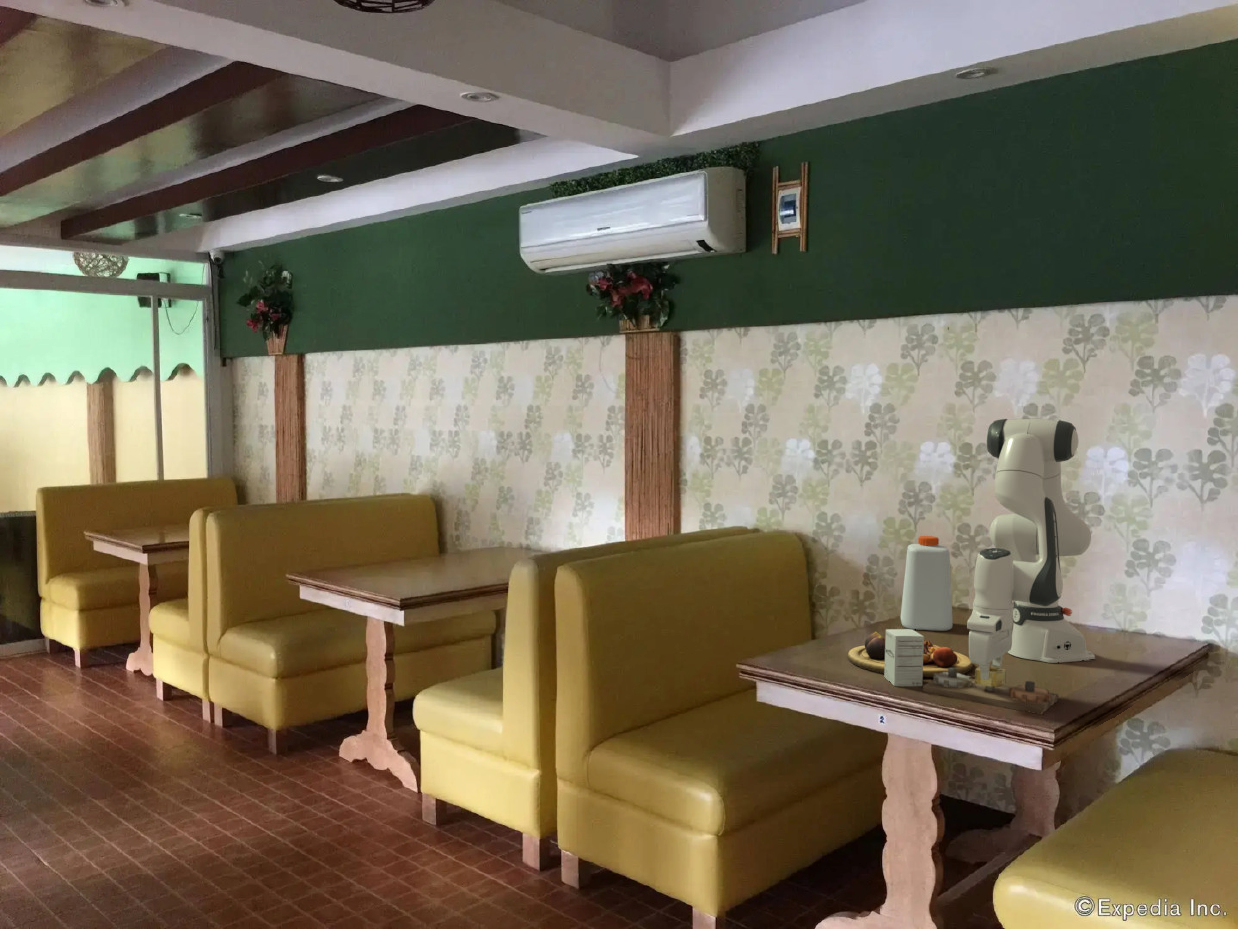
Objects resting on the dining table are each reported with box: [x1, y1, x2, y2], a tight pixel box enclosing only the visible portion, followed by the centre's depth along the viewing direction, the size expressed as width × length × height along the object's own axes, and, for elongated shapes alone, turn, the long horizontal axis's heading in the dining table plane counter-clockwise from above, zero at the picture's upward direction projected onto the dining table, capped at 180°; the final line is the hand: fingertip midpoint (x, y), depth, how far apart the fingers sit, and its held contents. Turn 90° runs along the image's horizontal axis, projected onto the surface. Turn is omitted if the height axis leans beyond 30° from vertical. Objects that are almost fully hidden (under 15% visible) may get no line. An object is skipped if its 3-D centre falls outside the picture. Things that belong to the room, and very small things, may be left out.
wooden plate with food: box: [847, 631, 973, 678], centre depth 265 cm, size 32×32×8 cm
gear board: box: [922, 668, 1059, 715], centre depth 235 cm, size 14×27×5 cm, turn 52°
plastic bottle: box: [900, 535, 953, 632], centre depth 310 cm, size 15×15×28 cm
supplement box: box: [883, 628, 925, 687], centre depth 245 cm, size 7×7×13 cm
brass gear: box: [974, 666, 1007, 687], centre depth 235 cm, size 6×6×3 cm
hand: (990, 676), depth 234 cm, fingers closed on brass gear, 6 cm apart
